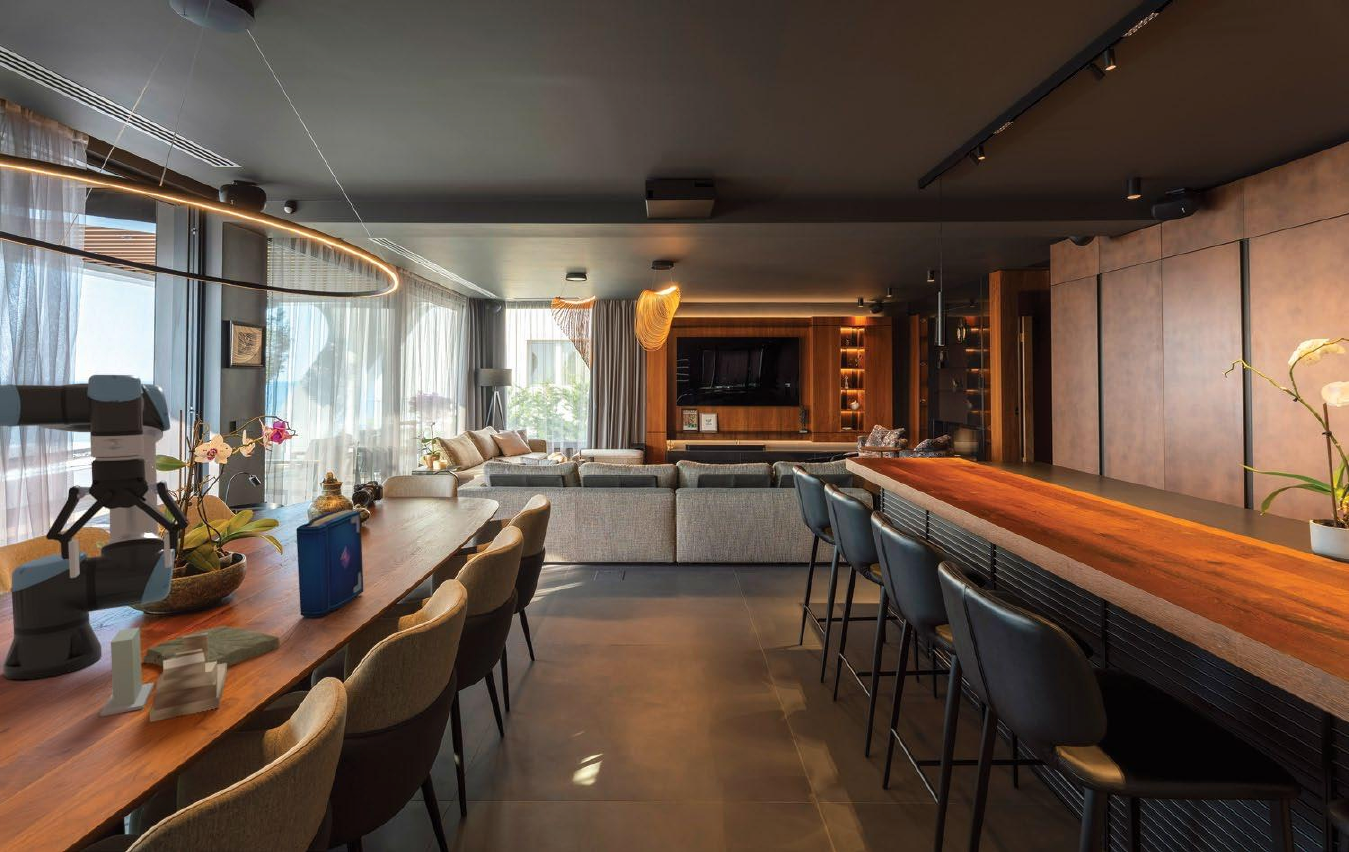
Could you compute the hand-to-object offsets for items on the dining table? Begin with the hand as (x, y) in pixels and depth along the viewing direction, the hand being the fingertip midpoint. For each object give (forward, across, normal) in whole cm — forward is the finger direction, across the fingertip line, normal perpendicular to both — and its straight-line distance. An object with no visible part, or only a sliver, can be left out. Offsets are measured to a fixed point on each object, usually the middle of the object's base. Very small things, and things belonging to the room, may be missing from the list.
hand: (123, 571), depth 122 cm
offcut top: (+18, +10, -10) cm, 23 cm away
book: (+25, +36, +42) cm, 61 cm away
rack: (+25, +10, -4) cm, 27 cm away
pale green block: (+24, 0, 0) cm, 24 cm away
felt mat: (+25, 0, 0) cm, 25 cm away
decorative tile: (+26, +11, +18) cm, 33 cm away
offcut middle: (+20, +10, -10) cm, 25 cm away
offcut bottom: (+22, +10, -10) cm, 27 cm away
